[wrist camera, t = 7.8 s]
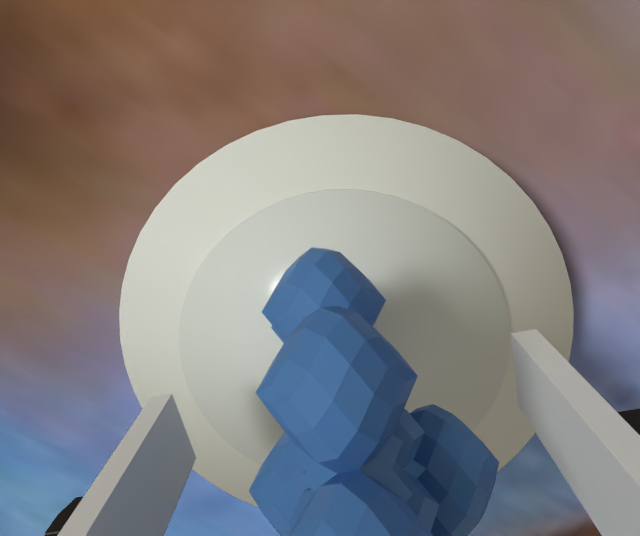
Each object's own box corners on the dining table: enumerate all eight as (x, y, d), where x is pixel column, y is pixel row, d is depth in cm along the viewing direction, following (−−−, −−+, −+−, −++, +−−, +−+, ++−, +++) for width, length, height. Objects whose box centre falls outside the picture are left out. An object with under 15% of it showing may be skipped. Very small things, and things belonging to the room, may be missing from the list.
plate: (204, 525, 22) (195, 552, 21) (66, 174, 17) (41, 179, 15) (568, 472, 20) (586, 498, 19) (544, 61, 15) (565, 54, 14)
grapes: (427, 458, 20) (616, 941, 8) (276, 475, 19) (264, 999, 8) (435, 202, 15) (849, 502, 4) (239, 219, 15) (106, 594, 4)
